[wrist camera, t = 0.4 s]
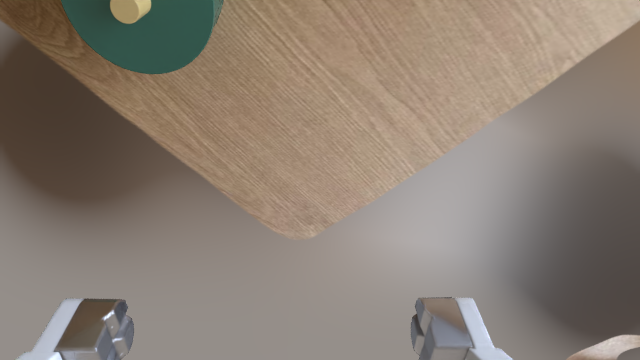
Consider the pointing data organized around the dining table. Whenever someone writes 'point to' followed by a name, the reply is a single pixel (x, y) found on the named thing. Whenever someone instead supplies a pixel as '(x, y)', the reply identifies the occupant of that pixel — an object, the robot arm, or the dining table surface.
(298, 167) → the dining table surface
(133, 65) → the lid
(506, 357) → the robot arm
